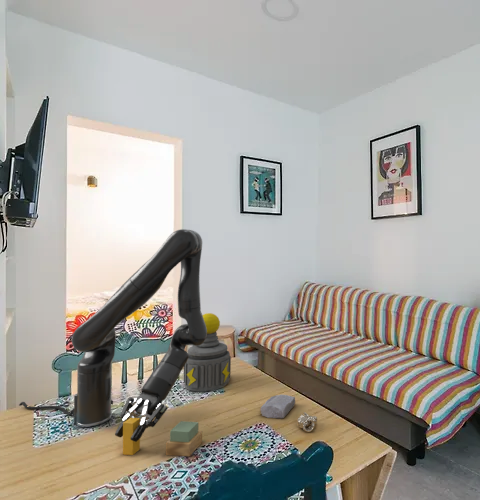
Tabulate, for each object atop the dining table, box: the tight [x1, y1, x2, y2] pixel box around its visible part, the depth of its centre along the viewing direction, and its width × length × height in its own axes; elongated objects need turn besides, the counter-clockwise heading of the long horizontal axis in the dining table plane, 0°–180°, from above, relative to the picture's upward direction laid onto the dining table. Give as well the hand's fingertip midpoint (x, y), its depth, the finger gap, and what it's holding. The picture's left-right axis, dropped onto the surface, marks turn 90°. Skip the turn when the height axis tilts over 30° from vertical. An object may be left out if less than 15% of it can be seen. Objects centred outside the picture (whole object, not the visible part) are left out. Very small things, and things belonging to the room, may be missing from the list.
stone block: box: [260, 394, 296, 419], centre depth 126 cm, size 12×5×10 cm
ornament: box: [296, 411, 318, 433], centre depth 115 cm, size 8×7×4 cm
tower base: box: [165, 430, 203, 457], centre depth 101 cm, size 7×7×4 cm
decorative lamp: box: [183, 312, 232, 393], centre depth 148 cm, size 19×19×30 cm
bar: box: [122, 417, 141, 456], centre depth 99 cm, size 3×3×9 cm
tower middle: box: [169, 420, 199, 442], centre depth 101 cm, size 6×6×3 cm
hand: (125, 438), depth 98 cm, fingers open, 5 cm apart
